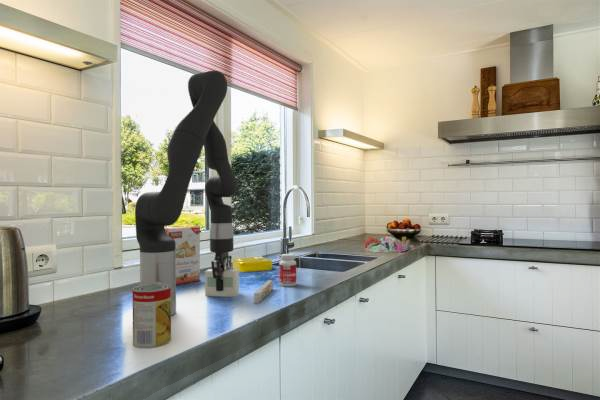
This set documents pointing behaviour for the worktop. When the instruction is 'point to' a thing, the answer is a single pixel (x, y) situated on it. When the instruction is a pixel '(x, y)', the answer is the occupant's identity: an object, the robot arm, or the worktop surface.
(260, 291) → the rail
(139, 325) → the canned food
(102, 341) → the worktop surface
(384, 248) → the candy landscape model
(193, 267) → the cracker box
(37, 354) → the worktop surface
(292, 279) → the pill bottle
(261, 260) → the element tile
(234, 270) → the product carton
